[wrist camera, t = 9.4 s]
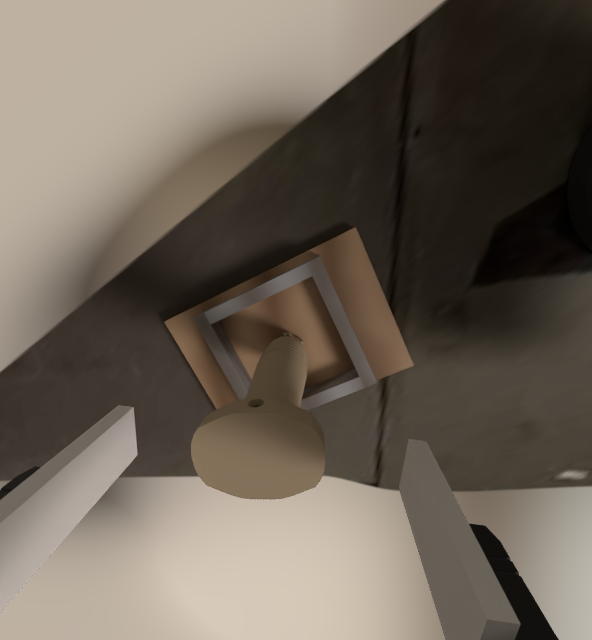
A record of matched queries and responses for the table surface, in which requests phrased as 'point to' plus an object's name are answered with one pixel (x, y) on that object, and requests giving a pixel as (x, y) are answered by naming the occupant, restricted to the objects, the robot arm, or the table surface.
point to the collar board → (297, 325)
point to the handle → (264, 432)
